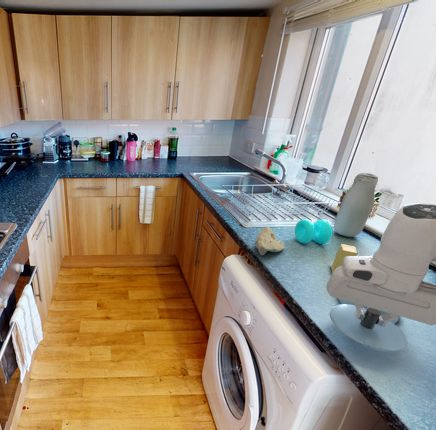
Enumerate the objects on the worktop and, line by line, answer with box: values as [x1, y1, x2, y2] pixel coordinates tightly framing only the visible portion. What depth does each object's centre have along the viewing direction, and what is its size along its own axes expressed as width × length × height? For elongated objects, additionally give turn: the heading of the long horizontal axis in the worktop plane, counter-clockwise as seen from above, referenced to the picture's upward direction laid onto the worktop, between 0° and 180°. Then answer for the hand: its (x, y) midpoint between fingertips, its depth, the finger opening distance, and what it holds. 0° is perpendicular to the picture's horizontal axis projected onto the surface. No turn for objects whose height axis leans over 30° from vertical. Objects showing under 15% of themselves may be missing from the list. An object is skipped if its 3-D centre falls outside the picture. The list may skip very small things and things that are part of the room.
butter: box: [330, 243, 358, 274], centre depth 98 cm, size 4×5×10 cm
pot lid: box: [329, 303, 408, 353], centre depth 69 cm, size 15×15×6 cm
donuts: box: [294, 218, 333, 245], centre depth 118 cm, size 10×10×10 cm
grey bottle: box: [333, 172, 379, 238], centre depth 120 cm, size 10×10×28 cm
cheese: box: [254, 226, 286, 256], centre depth 111 cm, size 15×7×15 cm
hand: (368, 320), depth 69 cm, fingers closed on pot lid, 2 cm apart
